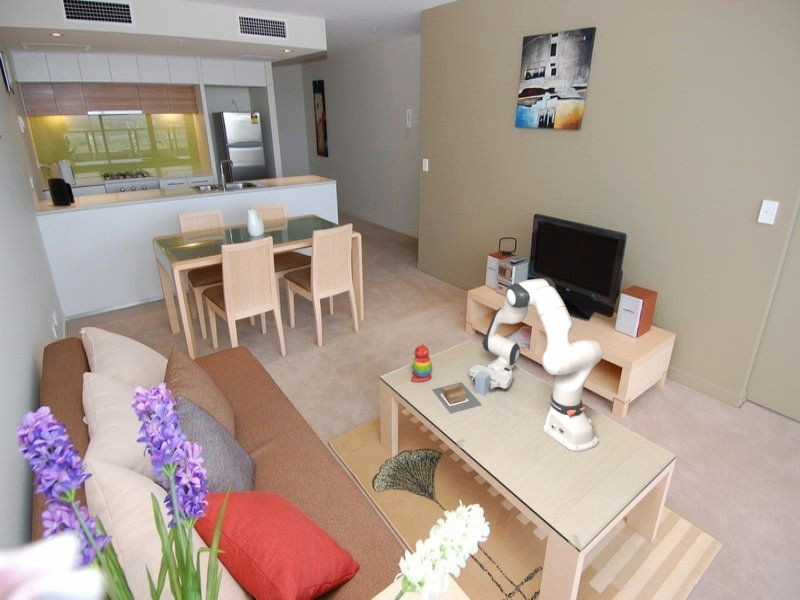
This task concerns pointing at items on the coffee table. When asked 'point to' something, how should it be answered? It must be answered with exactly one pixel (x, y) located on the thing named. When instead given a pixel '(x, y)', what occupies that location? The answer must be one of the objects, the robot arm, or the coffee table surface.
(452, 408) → the build mat
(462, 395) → the base block
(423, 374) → the stacking bear
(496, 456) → the coffee table surface
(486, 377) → the pillar
